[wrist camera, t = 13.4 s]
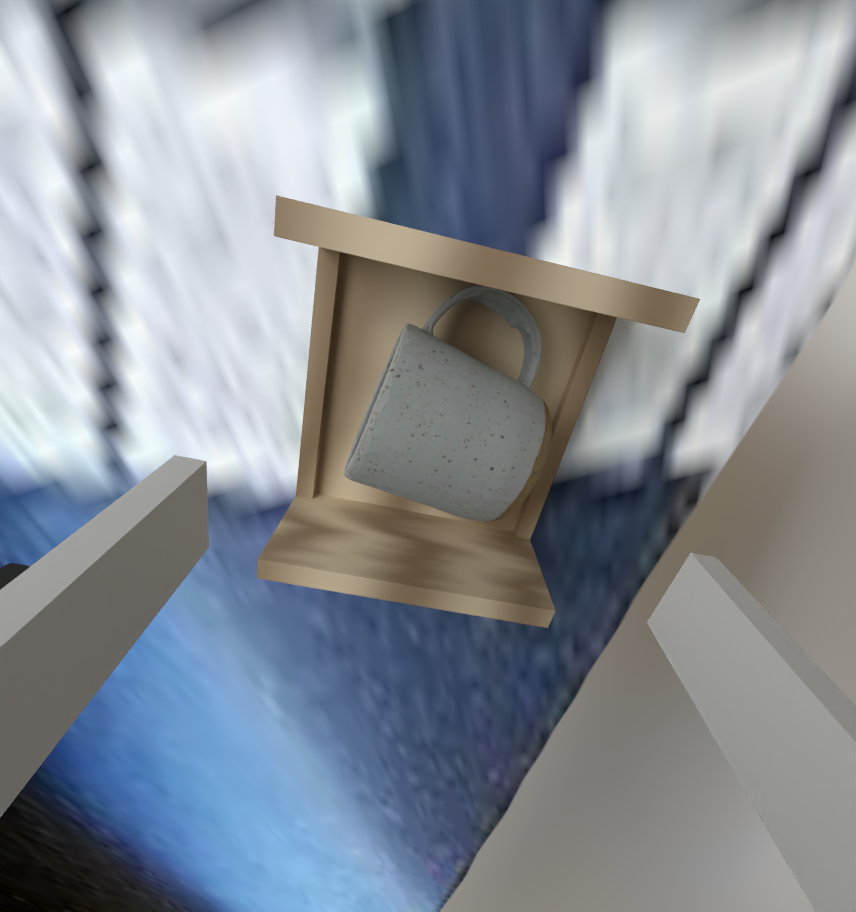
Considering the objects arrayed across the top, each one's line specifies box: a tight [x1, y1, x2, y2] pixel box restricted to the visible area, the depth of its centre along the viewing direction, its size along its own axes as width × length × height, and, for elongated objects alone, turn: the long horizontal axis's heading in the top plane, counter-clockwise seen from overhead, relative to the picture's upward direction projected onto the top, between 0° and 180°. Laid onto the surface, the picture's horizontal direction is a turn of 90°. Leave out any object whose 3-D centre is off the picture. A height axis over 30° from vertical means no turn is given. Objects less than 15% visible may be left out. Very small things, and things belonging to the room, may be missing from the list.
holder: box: [257, 196, 700, 628], centre depth 21 cm, size 15×16×8 cm
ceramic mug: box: [344, 284, 552, 522], centre depth 19 cm, size 11×8×8 cm
